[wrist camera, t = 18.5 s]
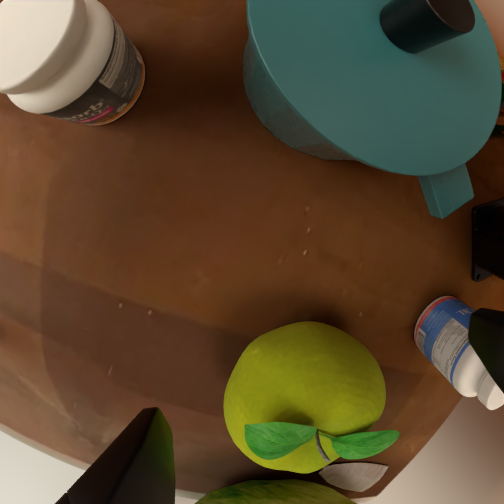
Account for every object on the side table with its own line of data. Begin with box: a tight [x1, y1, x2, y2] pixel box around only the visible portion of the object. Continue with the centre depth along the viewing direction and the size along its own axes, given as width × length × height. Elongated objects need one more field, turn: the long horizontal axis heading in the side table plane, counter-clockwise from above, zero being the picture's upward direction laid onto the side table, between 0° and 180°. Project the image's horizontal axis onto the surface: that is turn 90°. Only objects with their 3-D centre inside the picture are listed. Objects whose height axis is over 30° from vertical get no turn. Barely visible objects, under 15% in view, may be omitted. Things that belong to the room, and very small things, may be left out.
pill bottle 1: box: [0, 0, 145, 126], centre depth 11 cm, size 6×6×10 cm
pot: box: [242, 33, 474, 219], centre depth 13 cm, size 11×16×8 cm, turn 27°
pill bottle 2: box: [414, 296, 504, 410], centre depth 18 cm, size 6×5×10 cm
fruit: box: [224, 321, 400, 473], centre depth 17 cm, size 9×9×10 cm
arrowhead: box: [319, 463, 389, 492], centre depth 28 cm, size 5×1×10 cm
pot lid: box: [246, 0, 502, 176], centre depth 7 cm, size 12×12×4 cm
